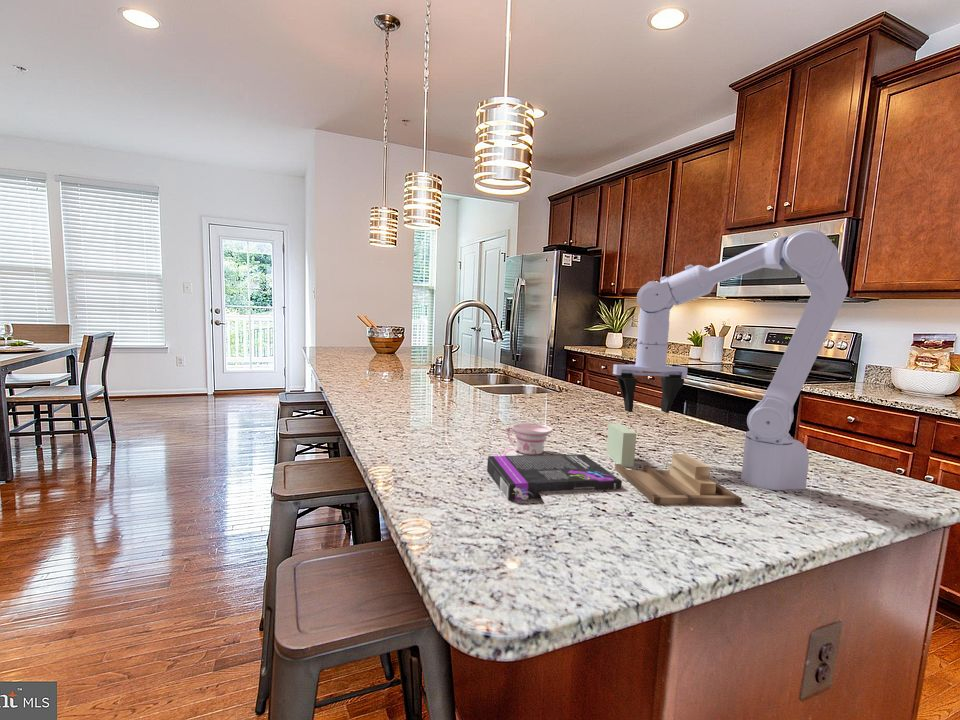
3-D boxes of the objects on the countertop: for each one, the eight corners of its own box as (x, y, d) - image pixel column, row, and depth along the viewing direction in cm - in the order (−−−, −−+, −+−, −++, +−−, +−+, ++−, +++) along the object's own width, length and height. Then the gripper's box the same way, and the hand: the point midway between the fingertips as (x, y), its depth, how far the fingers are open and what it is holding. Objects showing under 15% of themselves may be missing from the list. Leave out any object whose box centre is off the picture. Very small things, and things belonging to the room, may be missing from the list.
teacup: (560, 452, 102) (562, 424, 101) (557, 469, 90) (559, 437, 89) (505, 446, 104) (506, 418, 104) (494, 462, 92) (496, 431, 92)
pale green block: (617, 456, 98) (620, 423, 97) (633, 469, 90) (636, 433, 89) (606, 456, 98) (608, 423, 97) (620, 469, 90) (623, 433, 89)
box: (507, 506, 74) (622, 498, 78) (508, 484, 73) (623, 477, 77) (486, 474, 87) (585, 469, 91) (487, 455, 87) (586, 451, 91)
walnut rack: (686, 475, 89) (687, 465, 89) (740, 510, 73) (741, 498, 73) (614, 474, 88) (615, 464, 88) (653, 510, 72) (654, 497, 72)
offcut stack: (684, 474, 86) (686, 453, 86) (716, 495, 77) (718, 471, 76) (668, 474, 86) (670, 453, 86) (698, 495, 76) (700, 471, 76)
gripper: (677, 344, 99) (671, 408, 100) (609, 341, 98) (605, 406, 99) (695, 346, 92) (689, 415, 93) (622, 343, 91) (617, 413, 92)
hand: (646, 411), depth 96 cm, fingers open, 7 cm apart
